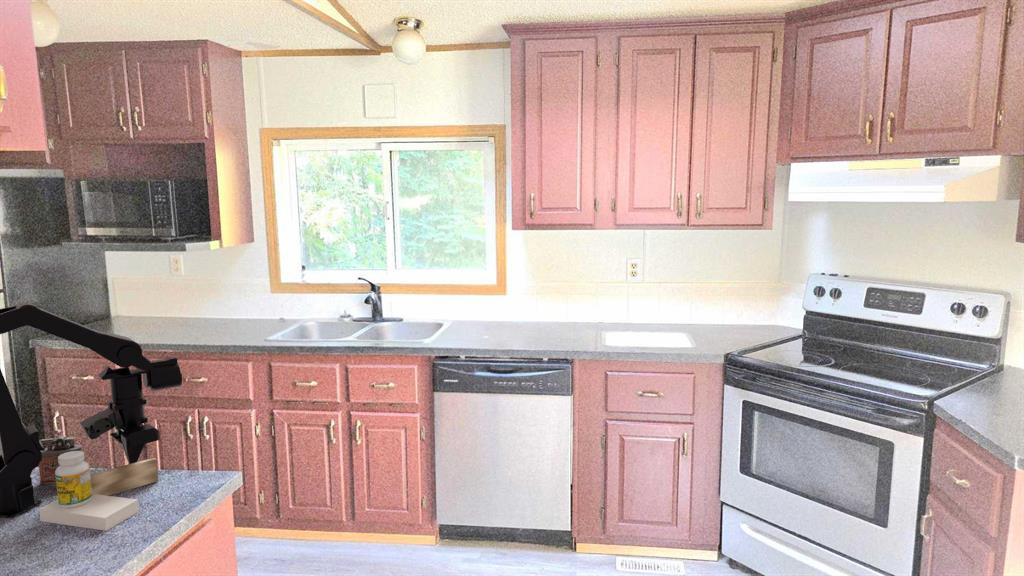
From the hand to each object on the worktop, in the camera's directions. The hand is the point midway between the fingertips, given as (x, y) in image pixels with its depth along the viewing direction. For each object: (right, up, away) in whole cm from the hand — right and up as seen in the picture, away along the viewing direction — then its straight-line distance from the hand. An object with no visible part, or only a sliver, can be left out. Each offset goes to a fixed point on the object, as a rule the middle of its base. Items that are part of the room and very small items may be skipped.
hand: (132, 464), depth 135 cm
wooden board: (+2, -4, -6) cm, 7 cm away
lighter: (-14, -3, -2) cm, 15 cm away
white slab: (+2, -5, -16) cm, 17 cm away
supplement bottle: (-1, -3, -16) cm, 16 cm away
